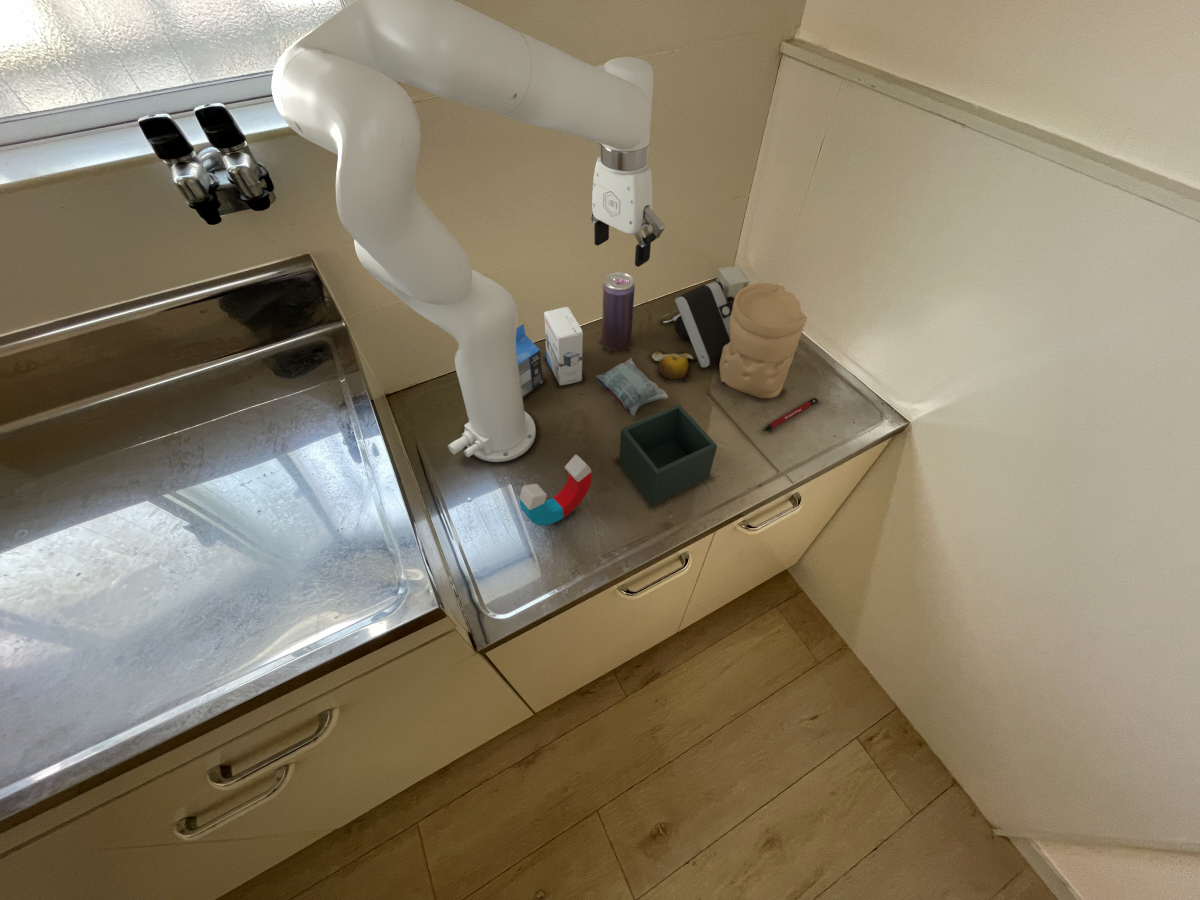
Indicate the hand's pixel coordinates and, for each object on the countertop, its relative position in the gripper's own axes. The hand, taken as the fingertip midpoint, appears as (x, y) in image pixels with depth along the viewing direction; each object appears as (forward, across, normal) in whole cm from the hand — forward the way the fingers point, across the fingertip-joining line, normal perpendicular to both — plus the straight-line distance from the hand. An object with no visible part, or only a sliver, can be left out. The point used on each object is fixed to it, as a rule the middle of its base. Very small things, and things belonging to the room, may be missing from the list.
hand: (621, 252), depth 102 cm
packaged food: (+21, +12, -10) cm, 26 cm away
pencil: (+21, +37, +6) cm, 43 cm away
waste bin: (+20, +28, -20) cm, 40 cm away
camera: (+16, +11, +7) cm, 21 cm away
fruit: (+21, +13, +2) cm, 25 cm away
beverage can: (+21, 0, -1) cm, 21 cm away
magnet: (+20, +21, -38) cm, 48 cm away
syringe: (+21, +3, +16) cm, 26 cm away
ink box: (+21, -2, -14) cm, 25 cm away
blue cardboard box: (+20, -4, -24) cm, 32 cm away
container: (+21, +26, +9) cm, 35 cm away
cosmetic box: (+21, +13, +20) cm, 31 cm away
